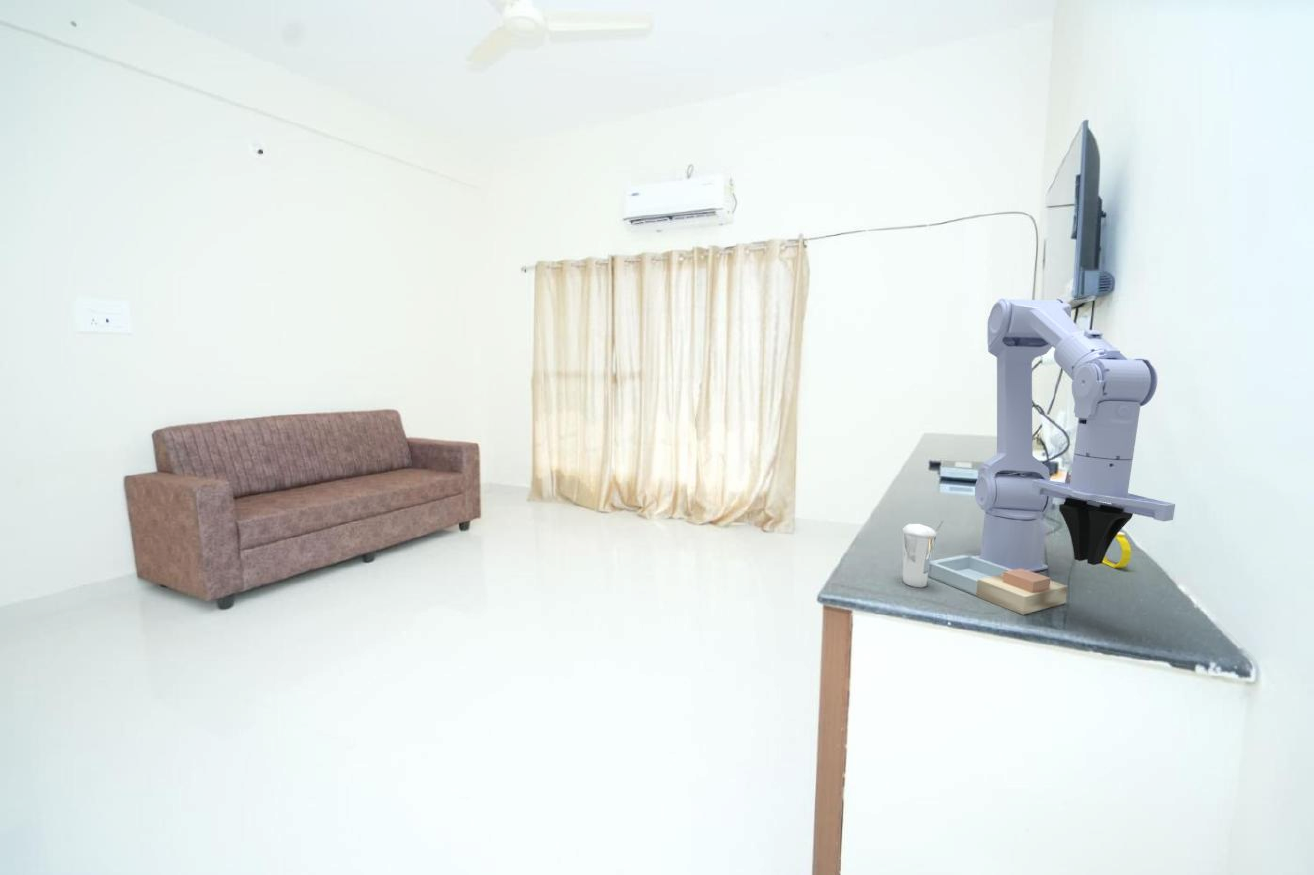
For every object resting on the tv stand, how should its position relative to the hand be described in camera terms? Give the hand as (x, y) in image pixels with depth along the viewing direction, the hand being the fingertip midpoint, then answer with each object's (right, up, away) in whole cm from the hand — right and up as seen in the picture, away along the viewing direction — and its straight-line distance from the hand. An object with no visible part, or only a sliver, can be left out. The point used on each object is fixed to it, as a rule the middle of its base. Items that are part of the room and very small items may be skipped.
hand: (1088, 561), depth 70 cm
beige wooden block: (-3, -7, +8) cm, 11 cm away
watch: (+23, -6, +24) cm, 34 cm away
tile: (-3, -5, +7) cm, 9 cm away
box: (-6, -6, +15) cm, 17 cm away
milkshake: (-16, -7, +13) cm, 21 cm away
